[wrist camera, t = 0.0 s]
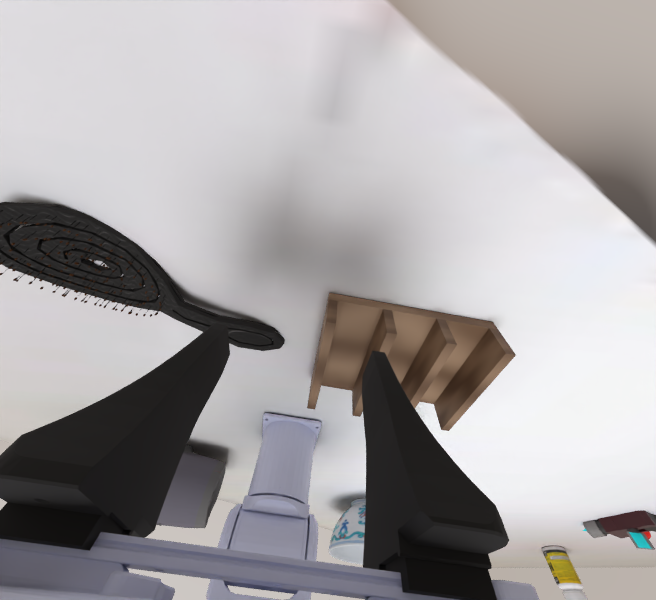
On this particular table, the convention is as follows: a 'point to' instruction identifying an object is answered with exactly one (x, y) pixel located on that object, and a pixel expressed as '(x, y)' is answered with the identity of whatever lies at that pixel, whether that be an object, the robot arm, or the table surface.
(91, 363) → the table surface
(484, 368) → the dish rack
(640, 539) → the toy gun
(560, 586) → the supplement bottle
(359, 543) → the chinaware
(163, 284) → the hairbrush
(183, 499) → the bluetooth speaker
